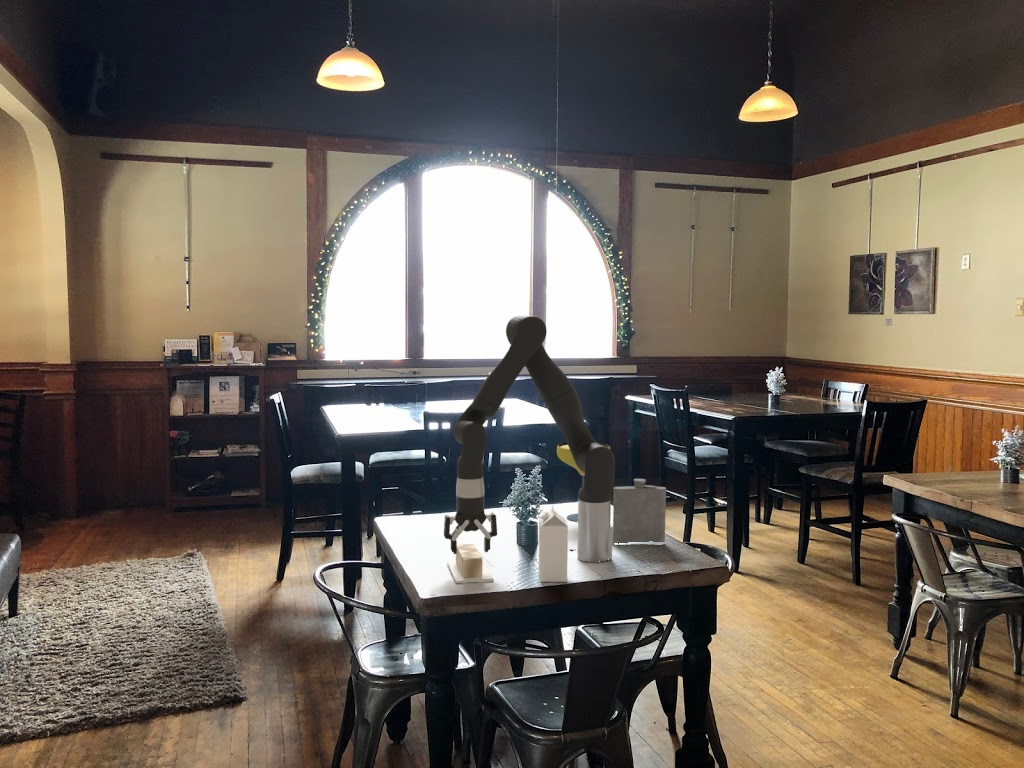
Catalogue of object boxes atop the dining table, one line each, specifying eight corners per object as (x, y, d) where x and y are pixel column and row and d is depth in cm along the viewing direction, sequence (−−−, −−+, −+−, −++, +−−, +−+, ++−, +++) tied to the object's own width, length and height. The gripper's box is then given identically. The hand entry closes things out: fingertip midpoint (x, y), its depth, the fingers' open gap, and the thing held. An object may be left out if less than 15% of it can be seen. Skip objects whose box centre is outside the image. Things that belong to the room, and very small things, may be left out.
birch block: (473, 543, 238) (482, 558, 224) (473, 561, 238) (482, 577, 225) (455, 544, 237) (463, 559, 223) (455, 562, 237) (463, 578, 224)
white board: (482, 562, 240) (482, 559, 240) (493, 581, 224) (493, 578, 224) (447, 564, 238) (447, 561, 238) (455, 583, 222) (455, 580, 221)
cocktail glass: (545, 516, 292) (546, 444, 290) (584, 509, 303) (585, 439, 301) (580, 527, 278) (581, 452, 276) (620, 519, 289) (621, 447, 286)
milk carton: (564, 573, 231) (565, 505, 229) (567, 582, 223) (568, 511, 222) (538, 574, 230) (539, 505, 228) (540, 582, 223) (541, 511, 221)
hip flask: (613, 545, 258) (614, 480, 256) (611, 542, 262) (612, 478, 260) (665, 545, 258) (667, 480, 256) (662, 542, 262) (664, 478, 261)
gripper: (445, 498, 224) (446, 558, 225) (498, 495, 227) (499, 554, 228) (442, 491, 231) (442, 550, 233) (493, 489, 234) (494, 547, 235)
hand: (470, 552), depth 230 cm, fingers open, 8 cm apart
